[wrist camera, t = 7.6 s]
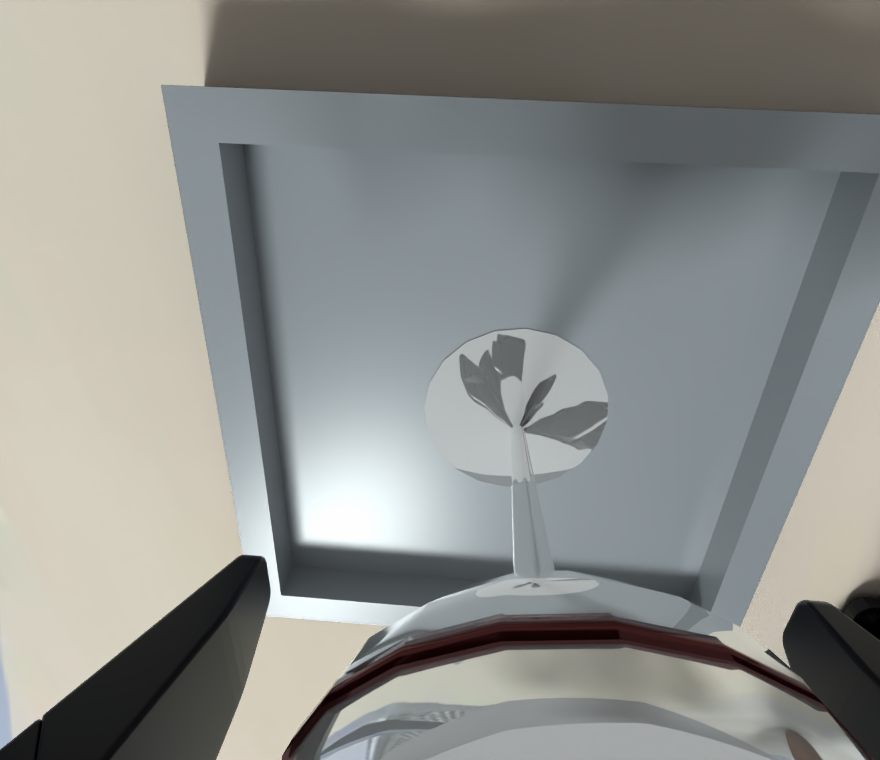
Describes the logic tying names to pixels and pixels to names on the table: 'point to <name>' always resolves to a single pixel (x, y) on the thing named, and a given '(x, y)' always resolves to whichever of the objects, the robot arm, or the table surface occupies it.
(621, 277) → the serving tray
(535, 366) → the wineglass
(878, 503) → the table surface
